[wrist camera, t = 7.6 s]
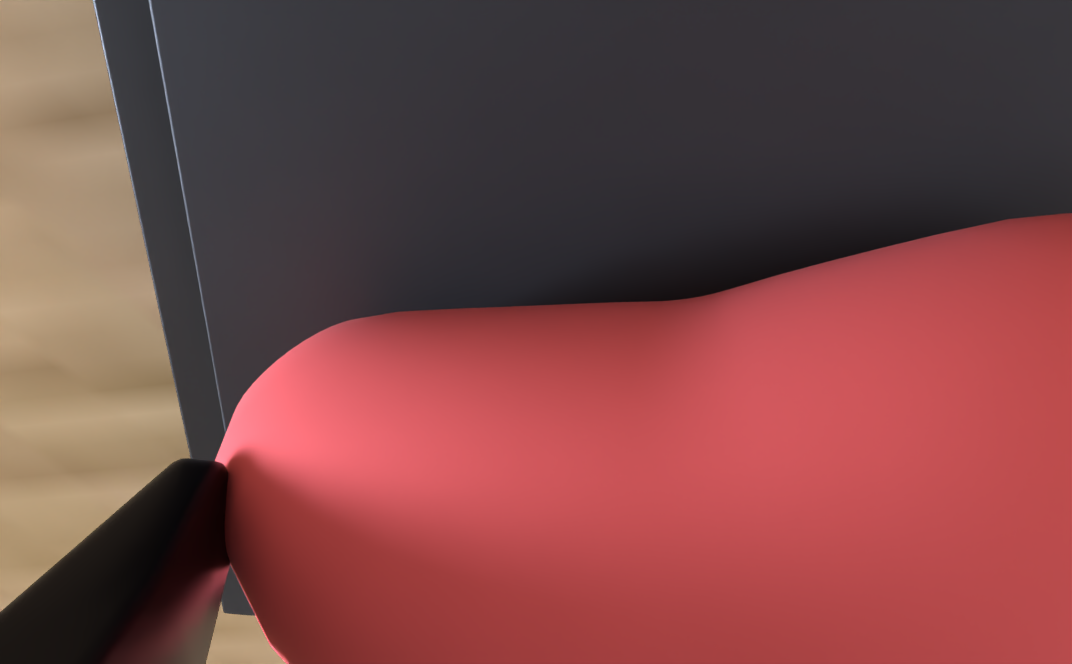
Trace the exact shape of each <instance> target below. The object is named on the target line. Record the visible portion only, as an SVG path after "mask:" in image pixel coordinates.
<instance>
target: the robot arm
mask: <svg viewBox="0 0 1072 664" xmlns="http://www.w3.org/2000/svg"><path fill="white" fill-rule="evenodd" d="M227 482H228V471H227V469H226V467H225V466H224V464H222V463H221V462H218V461H209V460H198V459H180V460H177V461H175V462H173V463H172V464H171V465H169V466H168V467H167V468H166V469H165V470H164V471H162V472H161V473H160V474H159V475H158V476H157V477H155V478H154V479H153V480H152V481H151V482H150V483H149V484H147V485H146V486H145V487H144V488H143V489H142V490H140V491H139V492H138V493H137V494H136V495H135V496H134V497H132V498H131V499H130V500H129V501H128V502H127V503H126V504H124V505H123V506H122V507H121V508H120V509H119V510H117V511H116V512H115V513H114V514H113V515H112V516H111V517H109V518H108V519H107V520H106V521H105V522H104V523H102V524H101V525H100V526H99V527H98V528H97V529H96V530H94V531H93V532H92V533H91V534H90V535H89V536H87V537H86V538H85V539H84V540H83V541H82V542H81V543H79V544H78V545H77V546H76V547H75V548H74V549H73V550H71V551H70V552H69V553H68V554H67V555H66V556H64V557H63V558H62V559H61V560H60V561H59V562H58V563H56V564H55V565H54V566H53V567H52V568H51V569H49V570H48V571H47V572H46V573H45V574H44V575H43V576H41V577H40V578H39V579H38V580H37V581H36V582H34V583H33V584H32V585H31V586H30V587H29V588H28V589H26V590H25V591H24V592H23V593H22V594H21V595H19V596H18V597H17V598H16V599H15V600H14V601H13V602H11V603H10V604H9V605H8V606H7V607H6V608H5V609H3V610H2V611H1V612H0V664H206V660H207V656H208V652H209V648H210V644H211V640H212V635H213V631H214V627H215V623H216V619H217V615H218V611H219V607H220V603H221V599H222V595H223V591H224V586H225V582H226V578H227V574H228V570H229V566H230V560H229V558H228V555H227V552H226V544H225V508H226V493H227Z"/></svg>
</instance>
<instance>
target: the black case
mask: <svg viewBox="0 0 1072 664" xmlns="http://www.w3.org/2000/svg"><path fill="white" fill-rule="evenodd" d="M93 4H94V9H95V14H96V18H97V23H98V28H99V32H100V37H101V42H102V46H103V51H104V56H105V60H106V65H107V70H108V74H109V79H110V84H111V88H112V93H113V98H114V102H115V107H116V112H117V116H118V121H119V126H120V130H121V135H122V140H123V144H124V149H125V154H126V158H127V163H128V168H129V172H130V177H131V182H132V186H133V191H134V196H135V200H136V205H137V210H138V214H139V219H140V224H141V228H142V233H143V238H144V242H145V247H146V252H147V256H148V261H149V266H150V270H151V275H152V280H153V284H154V289H155V294H156V298H157V303H158V308H159V312H160V317H161V322H162V326H163V331H164V336H165V340H166V345H167V350H168V354H169V359H170V364H171V368H172V373H173V378H174V382H175V387H176V392H177V396H178V401H179V406H180V410H181V415H182V420H183V424H184V429H185V434H186V438H187V443H188V448H189V452H190V457H191V459H198V460H209V461H215V459H216V457H217V454H218V452H219V449H220V447H221V444H222V442H223V439H224V437H225V434H226V431H227V429H228V426H229V424H230V421H231V419H232V416H233V414H234V412H235V409H236V407H237V405H238V403H239V402H240V400H241V399H242V397H243V396H244V394H245V393H246V392H247V390H248V389H249V388H250V387H251V385H252V384H253V383H254V382H255V381H256V380H257V379H258V378H259V377H260V376H261V375H262V374H263V373H264V372H265V371H266V370H267V369H268V368H269V367H270V366H271V365H272V364H273V363H275V362H276V361H277V360H278V359H279V358H281V357H282V356H283V355H285V354H286V353H287V352H288V351H290V350H291V349H293V348H294V347H296V346H297V345H299V344H300V343H302V342H303V341H305V340H306V339H308V338H310V337H312V336H313V335H315V334H317V333H318V332H321V331H323V330H325V329H327V328H329V327H331V326H334V325H336V324H339V323H342V322H345V321H349V320H353V319H358V318H364V317H370V316H376V315H382V314H388V313H394V312H404V311H421V310H440V309H460V308H486V307H512V306H536V305H559V304H583V303H609V302H648V301H671V300H681V299H688V298H694V297H700V296H705V295H709V294H714V293H718V292H721V291H725V290H728V289H732V288H735V287H738V286H742V285H745V284H749V283H752V282H755V281H759V280H762V279H766V278H769V277H772V276H776V275H779V274H783V273H787V272H791V271H794V270H798V269H802V268H805V267H809V266H813V265H817V264H820V263H824V262H828V261H832V260H836V259H840V258H844V257H848V256H852V255H855V254H859V253H863V252H867V251H871V250H875V249H879V248H883V247H887V246H891V245H896V244H900V243H904V242H908V241H912V240H916V239H920V238H924V237H928V236H933V235H937V234H941V233H946V232H951V231H955V230H960V229H965V228H969V227H974V226H979V225H983V224H988V223H993V222H997V221H1002V220H1006V219H1014V218H1024V217H1034V216H1044V215H1054V214H1064V213H1072V0H93ZM221 602H222V606H223V611H224V613H229V614H241V615H252V616H256V615H255V613H254V611H253V609H252V607H251V605H250V603H249V601H248V599H247V597H246V595H245V593H244V591H243V589H242V587H241V585H240V583H239V581H238V579H237V577H236V575H235V573H234V571H233V569H232V567H231V564H230V566H229V570H228V574H227V578H226V582H225V586H224V591H223V595H222V599H221Z"/></svg>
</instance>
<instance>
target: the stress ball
mask: <svg viewBox="0 0 1072 664" xmlns="http://www.w3.org/2000/svg"><path fill="white" fill-rule="evenodd" d="M215 461H218V462H221V463H222V464H224V466H225V467H226V469H227V471H228V482H227V493H226V508H225V544H226V552H227V555H228V558H229V560H230V564H231V567H232V569H233V571H234V573H235V575H236V577H237V579H238V581H239V583H240V585H241V587H242V589H243V591H244V593H245V595H246V597H247V599H248V601H249V603H250V605H251V607H252V609H253V611H254V613H255V615H256V618H257V620H258V622H259V624H260V626H261V628H262V630H263V632H264V634H265V636H266V638H267V640H268V642H269V644H270V646H271V647H272V648H273V649H274V651H275V652H276V653H277V654H278V655H279V656H280V657H281V658H282V659H283V660H284V662H285V663H286V664H1072V213H1064V214H1054V215H1044V216H1034V217H1024V218H1014V219H1006V220H1002V221H997V222H993V223H988V224H983V225H979V226H974V227H969V228H965V229H960V230H955V231H951V232H946V233H941V234H937V235H933V236H928V237H924V238H920V239H916V240H912V241H908V242H904V243H900V244H896V245H891V246H887V247H883V248H879V249H875V250H871V251H867V252H863V253H859V254H855V255H852V256H848V257H844V258H840V259H836V260H832V261H828V262H824V263H820V264H817V265H813V266H809V267H805V268H802V269H798V270H794V271H791V272H787V273H783V274H779V275H776V276H772V277H769V278H766V279H762V280H759V281H755V282H752V283H749V284H745V285H742V286H738V287H735V288H732V289H728V290H725V291H721V292H718V293H714V294H709V295H705V296H700V297H694V298H688V299H681V300H671V301H648V302H609V303H583V304H559V305H536V306H512V307H486V308H460V309H440V310H421V311H404V312H394V313H388V314H382V315H376V316H370V317H364V318H358V319H353V320H349V321H345V322H342V323H339V324H336V325H334V326H331V327H329V328H327V329H325V330H323V331H321V332H318V333H317V334H315V335H313V336H312V337H310V338H308V339H306V340H305V341H303V342H302V343H300V344H299V345H297V346H296V347H294V348H293V349H291V350H290V351H288V352H287V353H286V354H285V355H283V356H282V357H281V358H279V359H278V360H277V361H276V362H275V363H273V364H272V365H271V366H270V367H269V368H268V369H267V370H266V371H265V372H264V373H263V374H262V375H261V376H260V377H259V378H258V379H257V380H256V381H255V382H254V383H253V384H252V385H251V387H250V388H249V389H248V390H247V392H246V393H245V394H244V396H243V397H242V399H241V400H240V402H239V403H238V405H237V407H236V409H235V412H234V414H233V416H232V419H231V421H230V424H229V426H228V429H227V431H226V434H225V437H224V439H223V442H222V444H221V447H220V449H219V452H218V454H217V457H216V459H215Z"/></svg>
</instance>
